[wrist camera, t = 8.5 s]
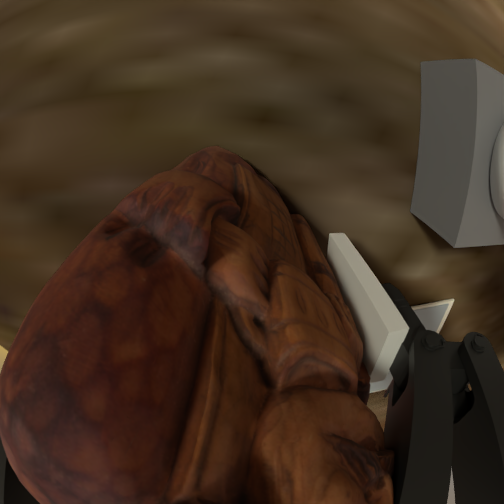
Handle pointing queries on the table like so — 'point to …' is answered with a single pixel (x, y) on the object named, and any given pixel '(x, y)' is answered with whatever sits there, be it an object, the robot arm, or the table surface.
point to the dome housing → (459, 151)
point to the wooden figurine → (194, 358)
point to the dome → (498, 173)
